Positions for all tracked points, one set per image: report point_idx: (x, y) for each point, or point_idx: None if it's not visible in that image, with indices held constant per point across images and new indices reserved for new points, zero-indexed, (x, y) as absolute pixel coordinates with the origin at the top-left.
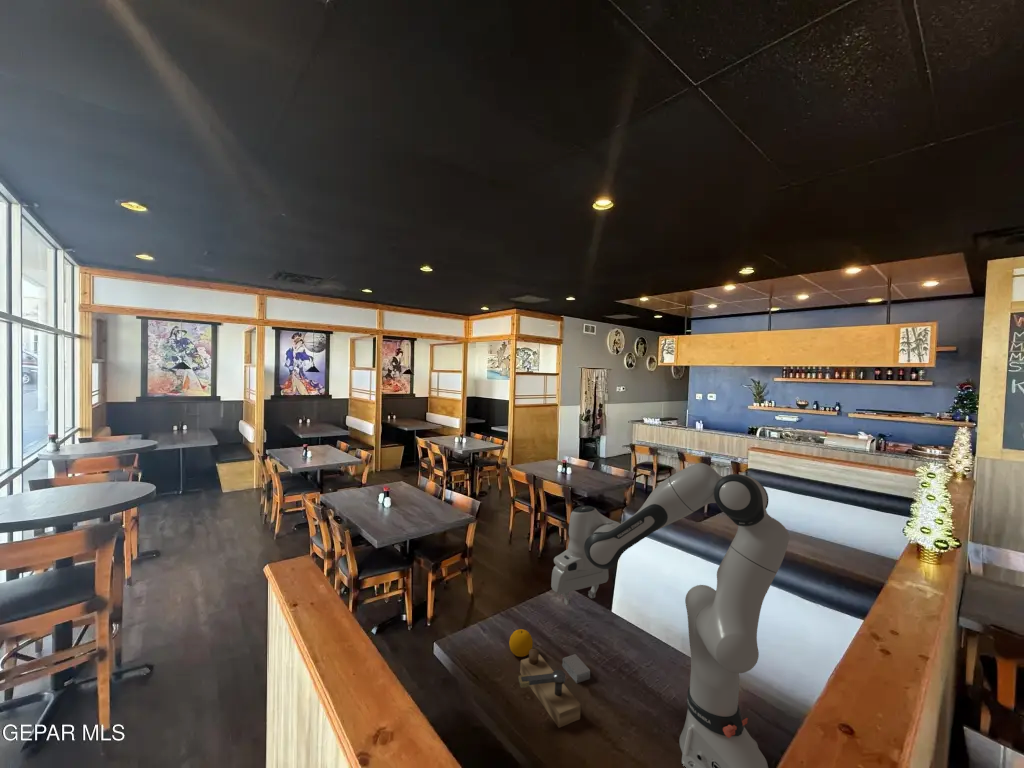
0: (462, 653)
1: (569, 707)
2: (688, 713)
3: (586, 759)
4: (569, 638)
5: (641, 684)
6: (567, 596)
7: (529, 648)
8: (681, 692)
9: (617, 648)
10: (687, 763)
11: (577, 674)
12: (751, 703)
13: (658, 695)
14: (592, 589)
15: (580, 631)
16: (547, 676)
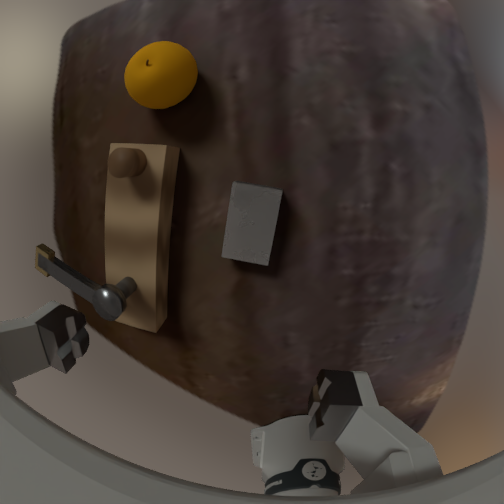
0: (77, 50)
1: (132, 322)
2: (279, 466)
3: (136, 360)
4: (343, 107)
5: (354, 333)
6: (17, 378)
7: (162, 106)
8: (388, 376)
9: (420, 225)
10: (253, 436)
11: (223, 255)
12: (426, 415)
13: (351, 364)
14: (361, 436)
15: (394, 109)
16: (81, 289)
